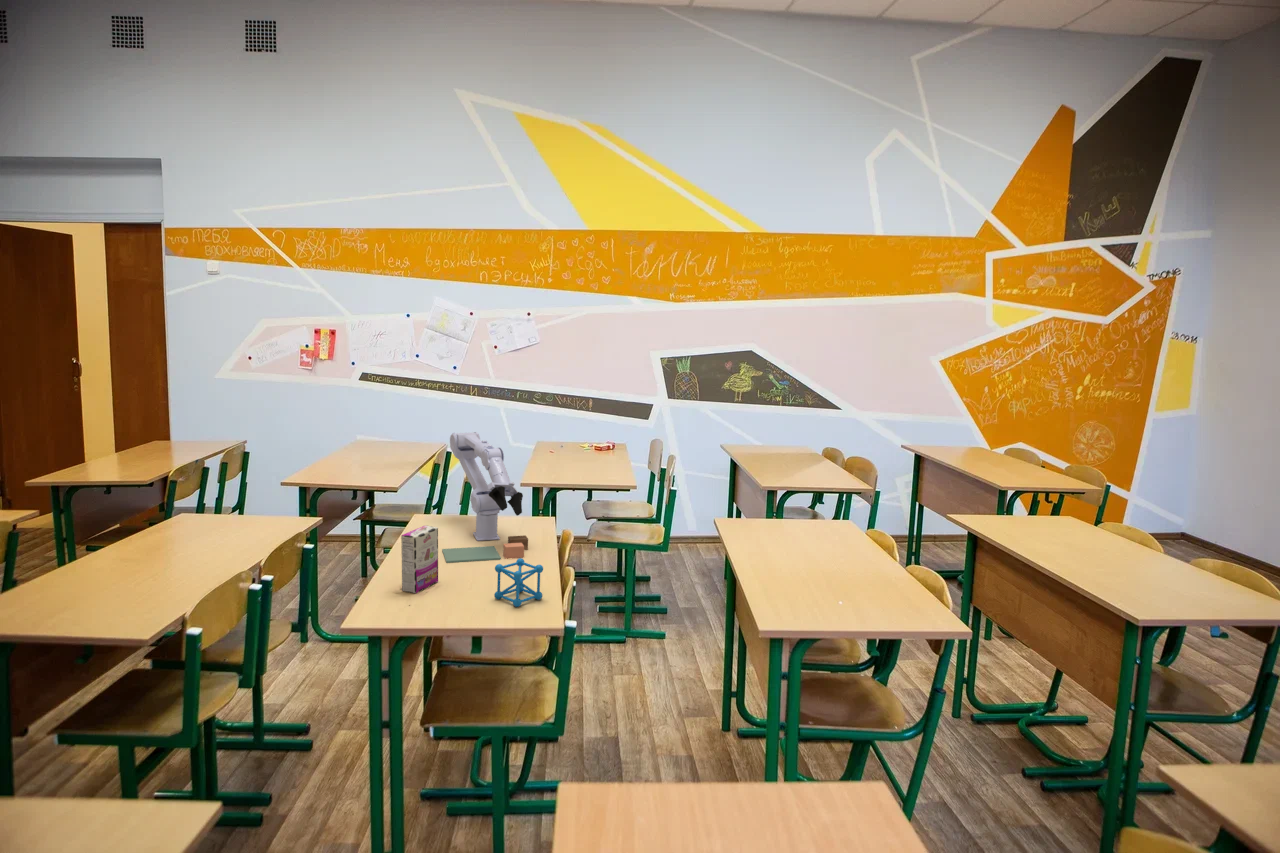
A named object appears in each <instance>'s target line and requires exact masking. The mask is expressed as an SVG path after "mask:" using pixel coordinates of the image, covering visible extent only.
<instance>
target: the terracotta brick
mask: <svg viewBox="0 0 1280 853" xmlns="http://www.w3.org/2000/svg"><path fill="white" fill-rule="evenodd" d="M502 548H503V550H502V555H503V557H504V559H505V560H508V558H512V559H519V558H522V559H523V557H524V558H525V550H524V545H523V544H522V543H508V542H507V543H503V547H502ZM506 558H507V559H506Z"/></svg>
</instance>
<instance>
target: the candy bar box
mask: <svg viewBox="0 0 1280 853" xmlns="http://www.w3.org/2000/svg"><path fill="white" fill-rule="evenodd" d="M400 537H401V538H400V539H401V542H400V543H401V591H402V592H404V591H405V593H409V592H410V594H418V593H419V592H422V591H423V590H425V589H427V588H429V587H430V586H433V585H435V584H436V583H438V582H439V527H437V526H432V525H423V526H420V527H417V528H415V529H414V530H410V531H408V532H406V533H404V534H401V536H400Z"/></svg>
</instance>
